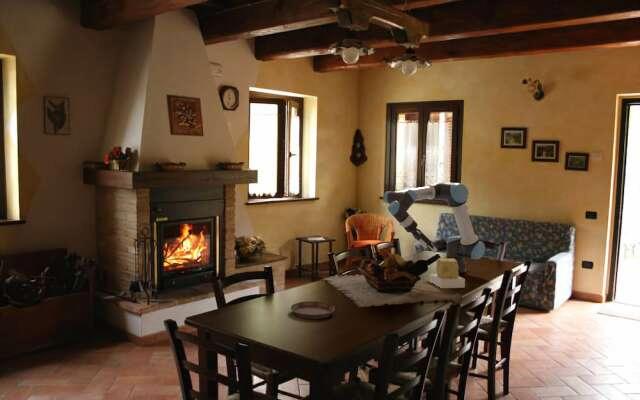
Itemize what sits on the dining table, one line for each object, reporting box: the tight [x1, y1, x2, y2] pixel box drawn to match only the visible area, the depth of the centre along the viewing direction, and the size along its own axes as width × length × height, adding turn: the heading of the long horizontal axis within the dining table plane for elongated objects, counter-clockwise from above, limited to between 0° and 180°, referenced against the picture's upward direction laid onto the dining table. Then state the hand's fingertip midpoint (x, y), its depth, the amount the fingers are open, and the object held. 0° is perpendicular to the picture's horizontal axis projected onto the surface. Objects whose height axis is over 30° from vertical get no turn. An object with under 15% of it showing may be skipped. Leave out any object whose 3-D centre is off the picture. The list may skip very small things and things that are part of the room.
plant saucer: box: [290, 300, 336, 320], centre depth 250 cm, size 21×21×3 cm
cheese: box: [436, 258, 460, 278], centre depth 315 cm, size 10×11×10 cm
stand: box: [429, 273, 466, 289], centre depth 316 cm, size 15×15×5 cm
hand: (431, 249), depth 312 cm, fingers open, 13 cm apart
